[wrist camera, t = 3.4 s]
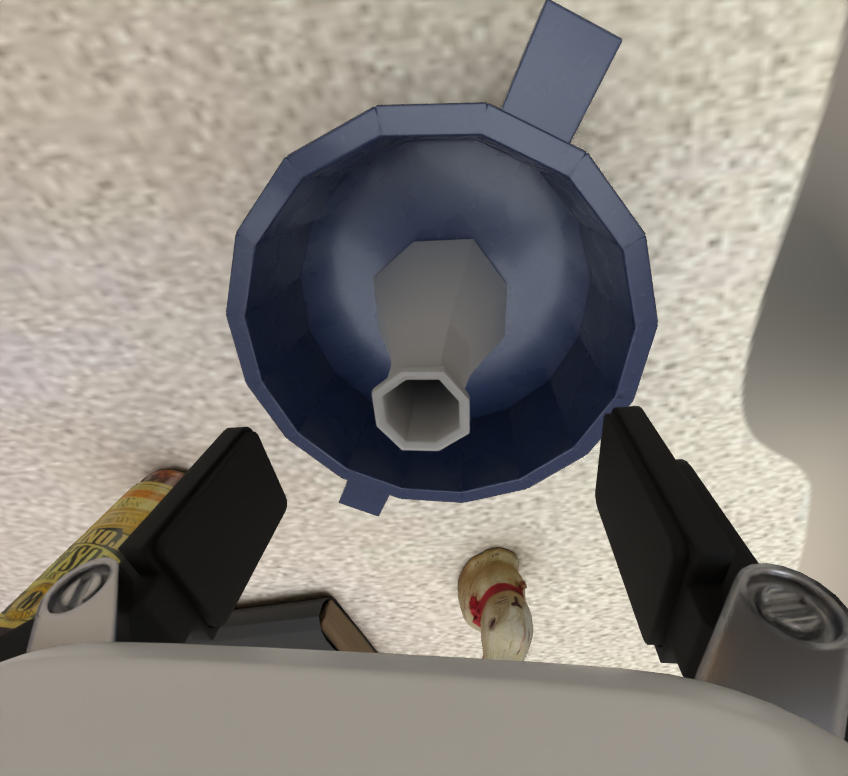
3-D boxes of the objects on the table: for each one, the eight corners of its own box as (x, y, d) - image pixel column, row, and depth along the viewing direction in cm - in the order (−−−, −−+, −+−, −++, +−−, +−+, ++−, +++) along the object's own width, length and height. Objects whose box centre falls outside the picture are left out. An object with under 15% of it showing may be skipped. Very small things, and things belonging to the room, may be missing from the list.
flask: (405, 380, 23) (369, 511, 15) (350, 266, 20) (264, 350, 12) (524, 344, 21) (561, 471, 13) (485, 211, 18) (501, 264, 10)
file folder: (189, 748, 53) (52, 657, 42) (207, 711, 56) (84, 619, 46) (413, 745, 44) (313, 630, 33) (418, 702, 48) (328, 585, 37)
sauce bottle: (204, 463, 29) (-153, 885, 12) (233, 519, 33) (-21, 915, 16) (127, 464, 30) (-303, 858, 13) (162, 518, 33) (-149, 893, 17)
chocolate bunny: (547, 571, 32) (576, 722, 24) (475, 602, 35) (477, 744, 27) (505, 536, 30) (520, 685, 22) (433, 572, 34) (421, 714, 25)
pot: (261, 401, 26) (206, 468, 20) (351, -43, 14) (282, -160, 9) (487, 485, 28) (491, 566, 22) (722, 150, 16) (849, 150, 11)
